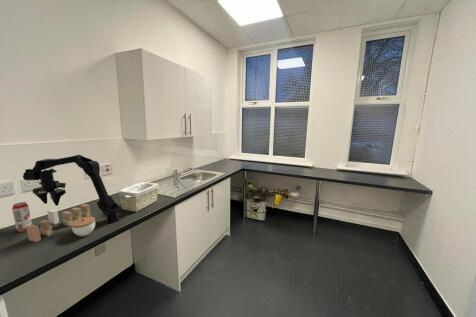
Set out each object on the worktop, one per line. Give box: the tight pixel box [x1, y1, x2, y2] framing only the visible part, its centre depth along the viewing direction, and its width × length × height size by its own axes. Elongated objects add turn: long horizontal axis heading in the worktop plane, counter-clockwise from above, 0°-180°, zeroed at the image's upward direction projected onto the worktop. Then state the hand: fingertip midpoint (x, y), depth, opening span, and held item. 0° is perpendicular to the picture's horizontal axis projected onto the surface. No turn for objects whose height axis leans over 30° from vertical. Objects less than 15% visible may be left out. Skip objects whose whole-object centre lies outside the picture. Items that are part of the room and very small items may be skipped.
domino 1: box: [39, 219, 54, 237], centre depth 108 cm, size 2×5×8 cm, turn 76°
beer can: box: [11, 201, 33, 233], centre depth 112 cm, size 6×6×16 cm
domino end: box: [26, 224, 42, 243], centre depth 103 cm, size 2×5×8 cm, turn 76°
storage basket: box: [118, 181, 159, 212], centre depth 148 cm, size 24×16×15 cm
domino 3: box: [61, 210, 73, 227], centre depth 119 cm, size 2×5×8 cm, turn 76°
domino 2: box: [46, 209, 60, 225], centre depth 121 cm, size 2×5×8 cm, turn 76°
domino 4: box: [70, 207, 83, 221], centre depth 124 cm, size 2×5×8 cm, turn 76°
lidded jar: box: [70, 216, 96, 237], centre depth 110 cm, size 11×11×9 cm
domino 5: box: [79, 203, 92, 218], centre depth 129 cm, size 2×5×8 cm, turn 76°
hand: (51, 204), depth 119 cm, fingers open, 9 cm apart
